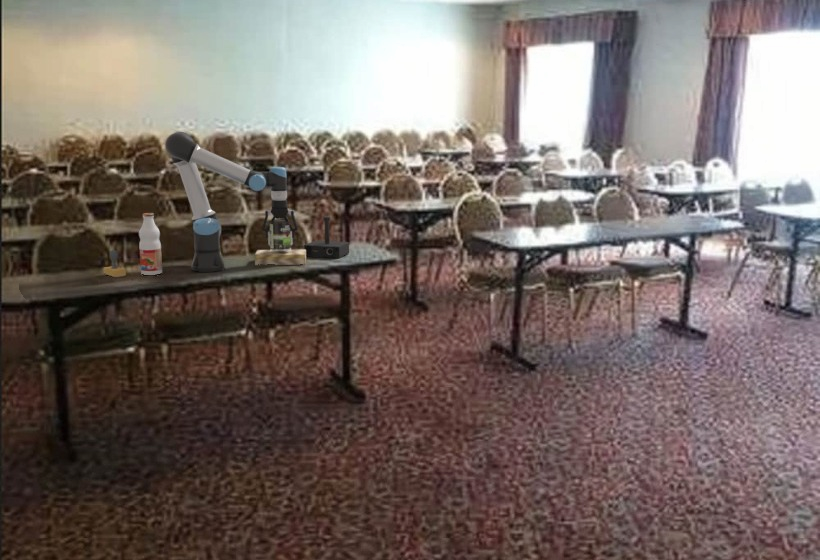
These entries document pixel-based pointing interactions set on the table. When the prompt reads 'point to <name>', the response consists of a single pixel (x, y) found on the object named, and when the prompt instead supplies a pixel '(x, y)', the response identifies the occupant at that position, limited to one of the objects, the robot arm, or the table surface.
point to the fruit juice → (150, 246)
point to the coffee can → (280, 235)
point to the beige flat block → (281, 257)
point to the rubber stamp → (114, 266)
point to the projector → (327, 246)
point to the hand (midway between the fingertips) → (280, 244)
